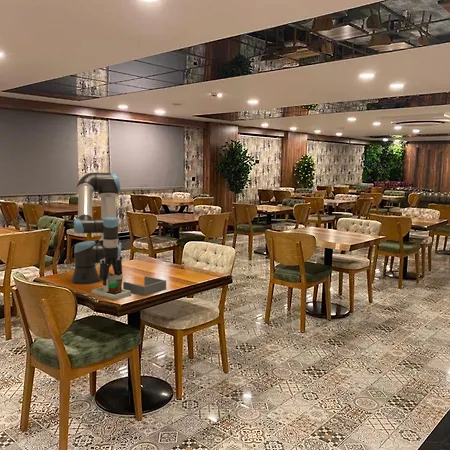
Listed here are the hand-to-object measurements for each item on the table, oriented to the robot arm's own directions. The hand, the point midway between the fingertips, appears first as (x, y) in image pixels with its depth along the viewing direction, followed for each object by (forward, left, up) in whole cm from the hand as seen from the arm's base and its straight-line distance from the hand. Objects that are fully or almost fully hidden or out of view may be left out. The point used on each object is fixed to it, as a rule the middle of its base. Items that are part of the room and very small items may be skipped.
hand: (111, 289), depth 231 cm
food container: (0, 0, -2) cm, 2 cm away
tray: (0, 0, -3) cm, 3 cm away
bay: (+7, +18, -3) cm, 20 cm away
